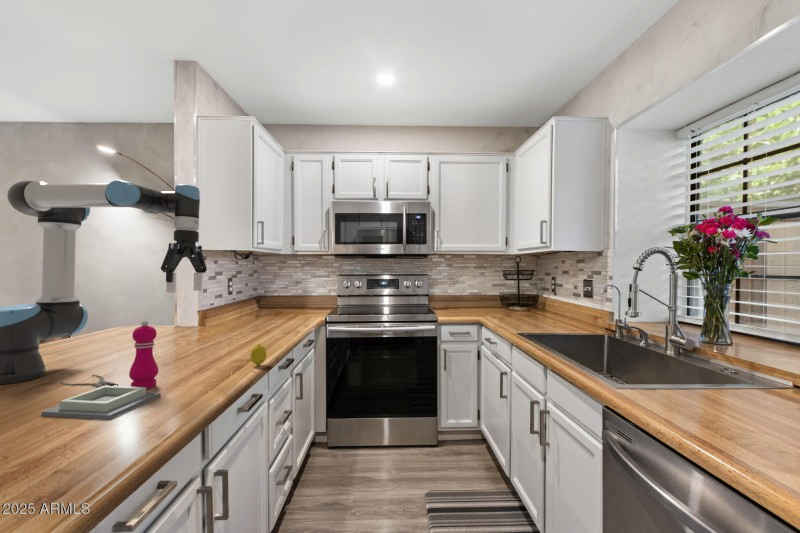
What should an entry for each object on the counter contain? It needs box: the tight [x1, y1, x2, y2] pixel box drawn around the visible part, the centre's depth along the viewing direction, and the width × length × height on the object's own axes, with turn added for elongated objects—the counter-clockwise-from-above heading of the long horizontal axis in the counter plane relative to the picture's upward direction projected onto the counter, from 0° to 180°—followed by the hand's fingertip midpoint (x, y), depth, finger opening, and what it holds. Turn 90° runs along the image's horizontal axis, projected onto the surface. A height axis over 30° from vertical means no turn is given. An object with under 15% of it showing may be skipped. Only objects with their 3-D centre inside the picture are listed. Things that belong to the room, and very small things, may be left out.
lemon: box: [250, 343, 267, 367], centre depth 137 cm, size 6×6×8 cm
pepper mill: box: [128, 320, 159, 390], centre depth 111 cm, size 7×7×20 cm
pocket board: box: [40, 385, 161, 420], centre depth 96 cm, size 18×16×3 cm
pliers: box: [60, 374, 120, 388], centre depth 115 cm, size 10×1×20 cm
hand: (184, 291), depth 127 cm, fingers open, 13 cm apart
